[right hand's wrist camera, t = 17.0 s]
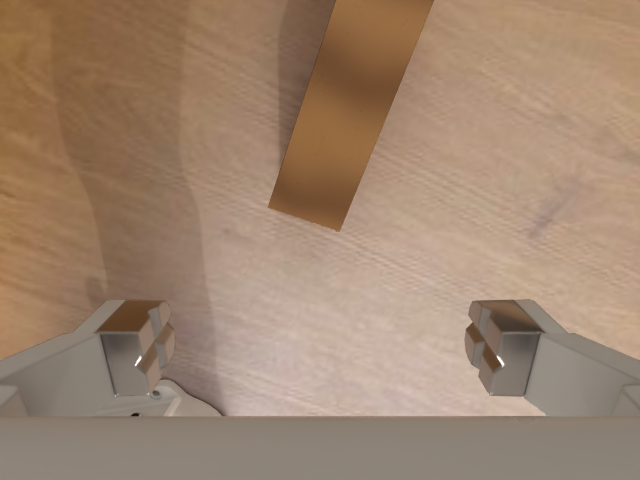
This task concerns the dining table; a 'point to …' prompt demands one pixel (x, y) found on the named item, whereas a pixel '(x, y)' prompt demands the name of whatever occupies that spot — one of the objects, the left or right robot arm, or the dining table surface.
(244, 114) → the dining table surface
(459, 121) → the dining table surface
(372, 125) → the box
